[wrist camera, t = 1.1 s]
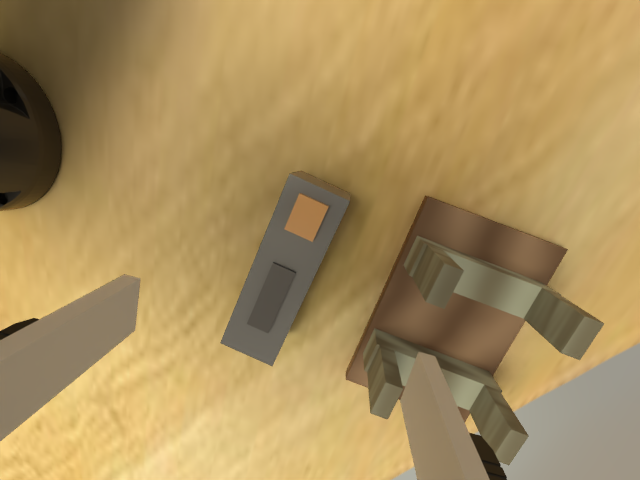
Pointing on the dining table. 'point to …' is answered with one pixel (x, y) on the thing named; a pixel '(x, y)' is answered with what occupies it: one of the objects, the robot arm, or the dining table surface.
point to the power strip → (285, 265)
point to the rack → (466, 316)
